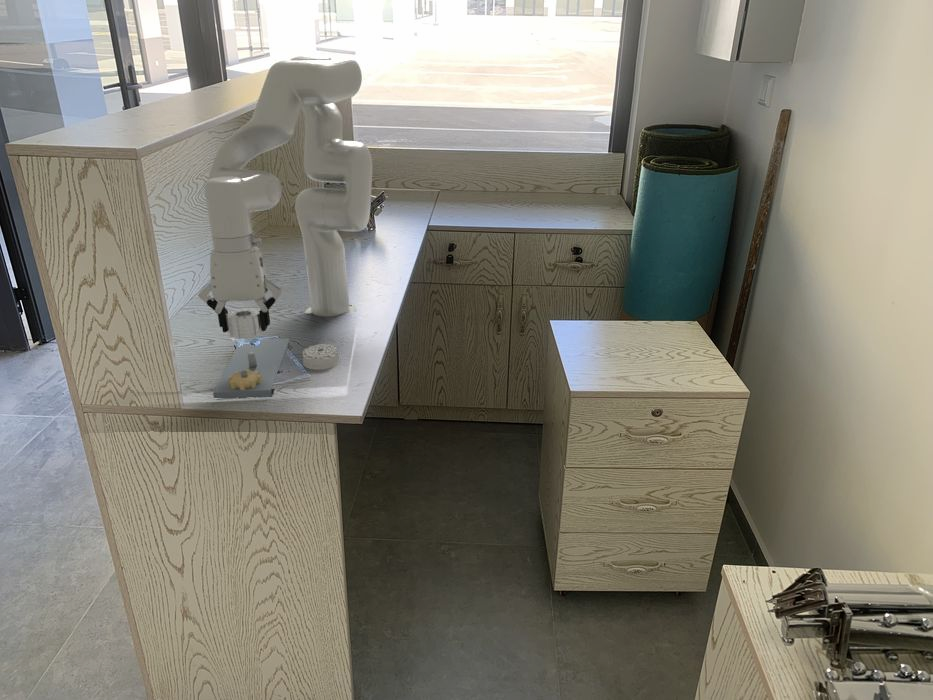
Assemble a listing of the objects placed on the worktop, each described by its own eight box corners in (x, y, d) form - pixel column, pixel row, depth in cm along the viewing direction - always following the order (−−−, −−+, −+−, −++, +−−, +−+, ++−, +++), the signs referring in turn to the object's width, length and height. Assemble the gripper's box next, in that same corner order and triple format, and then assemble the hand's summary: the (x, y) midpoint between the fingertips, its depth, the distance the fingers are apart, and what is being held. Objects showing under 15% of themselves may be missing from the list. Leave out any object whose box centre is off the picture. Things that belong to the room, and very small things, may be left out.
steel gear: (232, 326, 144) (229, 308, 142) (266, 325, 144) (264, 307, 142) (224, 339, 137) (221, 320, 136) (260, 338, 138) (257, 319, 136)
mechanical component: (343, 379, 143) (349, 358, 152) (341, 359, 141) (347, 339, 150) (294, 380, 143) (303, 359, 152) (291, 360, 141) (301, 340, 150)
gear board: (241, 346, 157) (238, 328, 155) (290, 344, 158) (288, 326, 156) (214, 399, 135) (210, 378, 133) (271, 396, 135) (268, 376, 134)
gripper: (282, 237, 137) (292, 321, 144) (192, 239, 136) (206, 324, 143) (276, 247, 131) (286, 334, 138) (181, 249, 129) (196, 337, 136)
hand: (245, 328), depth 140 cm, fingers closed on steel gear, 7 cm apart
